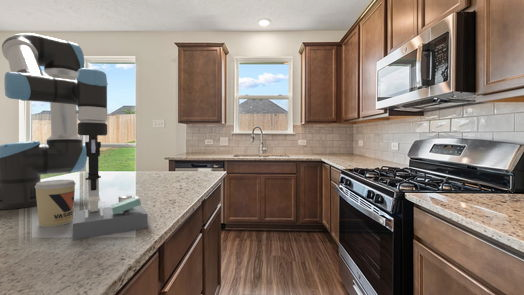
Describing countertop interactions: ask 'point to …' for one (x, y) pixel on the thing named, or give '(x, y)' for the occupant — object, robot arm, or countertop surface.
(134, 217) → the console
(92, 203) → the slider
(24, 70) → the robot arm
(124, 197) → the plunger
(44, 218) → the coffee cup
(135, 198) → the block
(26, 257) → the countertop surface
